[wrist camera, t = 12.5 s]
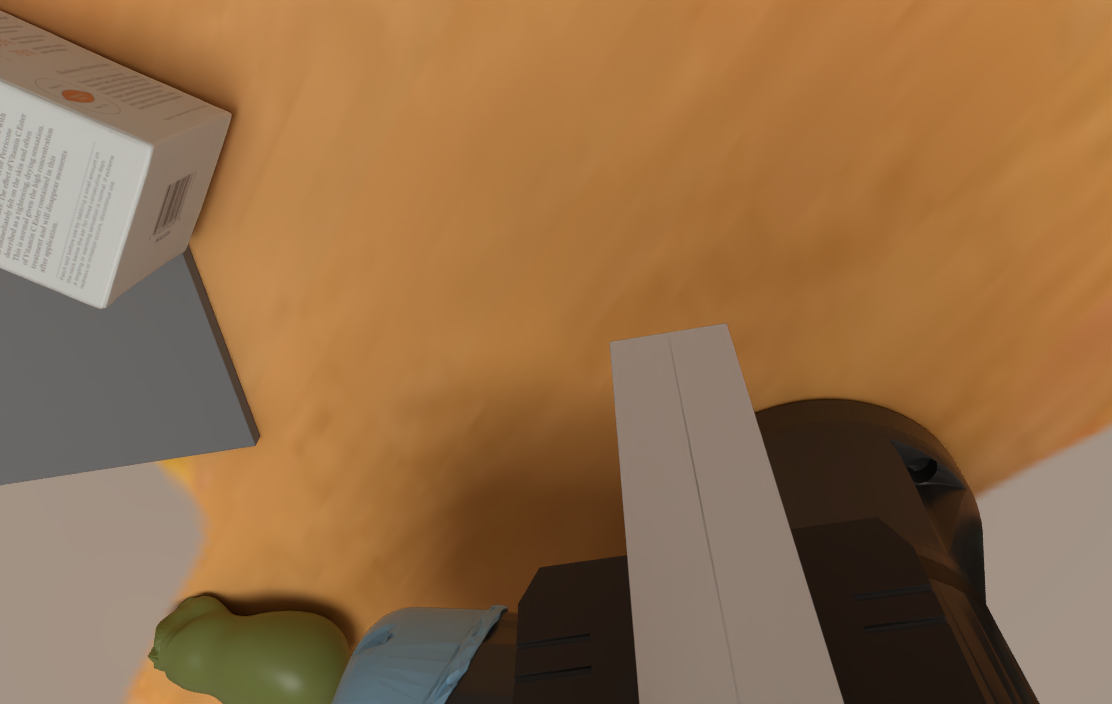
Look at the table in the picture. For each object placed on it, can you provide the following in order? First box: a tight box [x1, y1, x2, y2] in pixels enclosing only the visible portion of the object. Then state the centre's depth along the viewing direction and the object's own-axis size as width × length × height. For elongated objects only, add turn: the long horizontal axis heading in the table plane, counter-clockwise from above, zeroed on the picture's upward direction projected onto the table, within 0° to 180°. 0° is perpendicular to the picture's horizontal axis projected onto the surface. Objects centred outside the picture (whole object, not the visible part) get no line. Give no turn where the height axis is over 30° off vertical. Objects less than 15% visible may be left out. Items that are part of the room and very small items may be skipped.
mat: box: [0, 246, 260, 485], centre depth 45 cm, size 16×13×1 cm
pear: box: [148, 596, 351, 704], centre depth 52 cm, size 6×5×10 cm
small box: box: [0, 11, 232, 309], centre depth 37 cm, size 8×6×13 cm
